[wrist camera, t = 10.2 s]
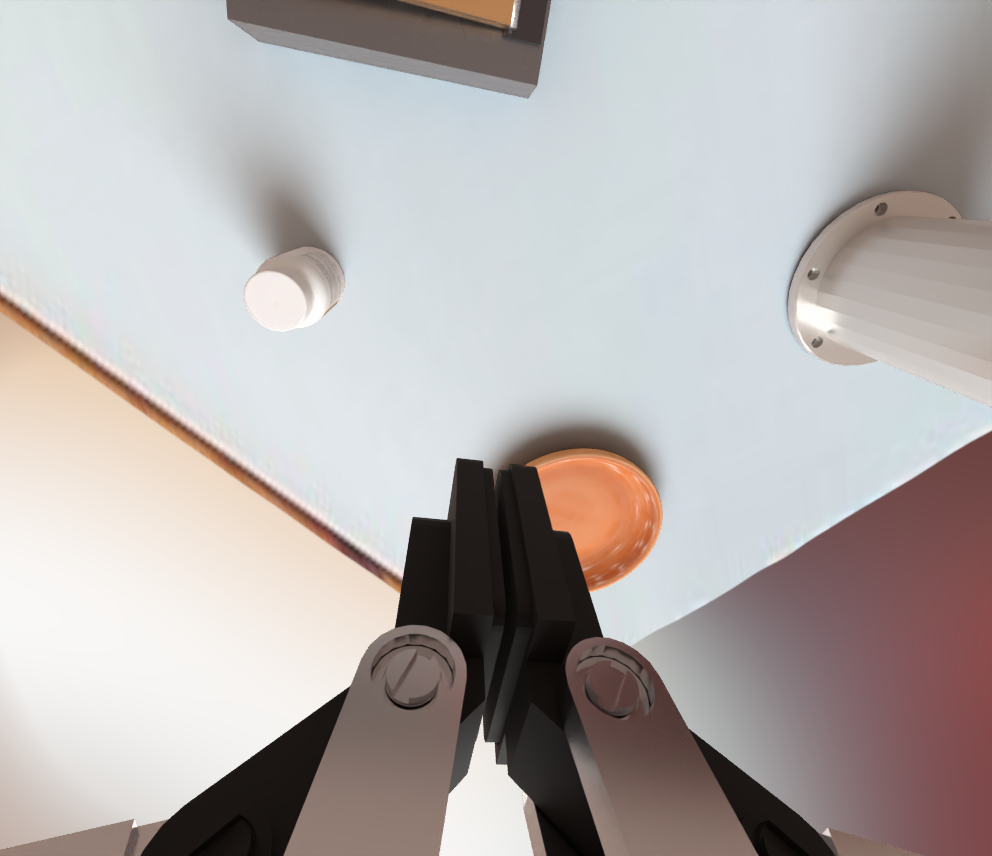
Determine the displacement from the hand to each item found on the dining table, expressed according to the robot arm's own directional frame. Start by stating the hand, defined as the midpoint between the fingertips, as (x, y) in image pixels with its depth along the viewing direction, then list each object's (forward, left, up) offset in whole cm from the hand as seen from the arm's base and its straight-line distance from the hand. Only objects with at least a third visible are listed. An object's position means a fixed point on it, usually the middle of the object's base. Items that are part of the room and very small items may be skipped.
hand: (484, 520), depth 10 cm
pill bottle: (+11, +1, -27) cm, 29 cm away
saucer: (-12, +19, -28) cm, 36 cm away
